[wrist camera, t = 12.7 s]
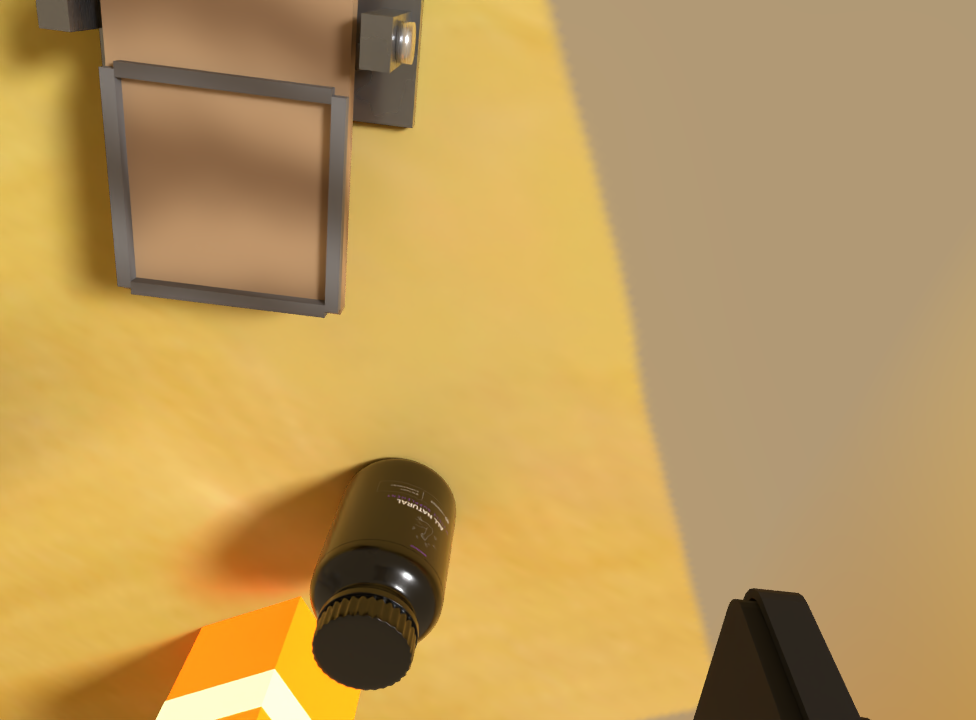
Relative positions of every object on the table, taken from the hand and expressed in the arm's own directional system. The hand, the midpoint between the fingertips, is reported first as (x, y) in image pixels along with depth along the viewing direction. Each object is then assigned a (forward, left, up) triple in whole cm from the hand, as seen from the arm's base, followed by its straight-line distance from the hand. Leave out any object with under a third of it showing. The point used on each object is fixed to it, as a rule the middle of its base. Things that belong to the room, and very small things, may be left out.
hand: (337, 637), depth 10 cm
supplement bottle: (-22, +2, -32) cm, 39 cm away
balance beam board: (+4, +10, -27) cm, 29 cm away
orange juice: (-36, +9, -32) cm, 49 cm away
